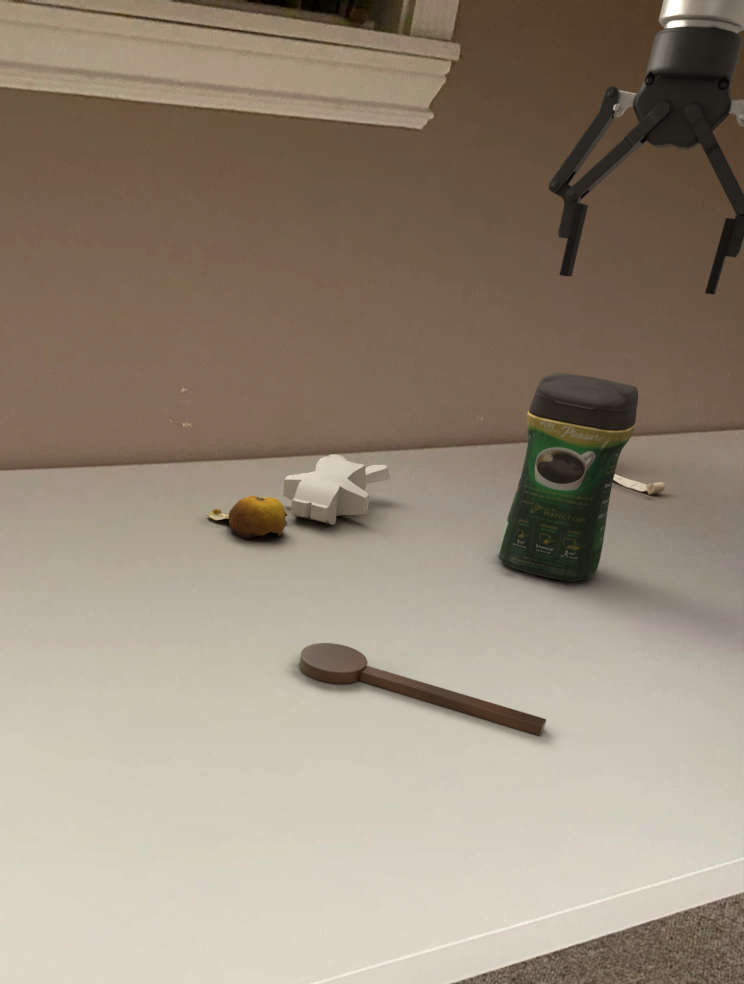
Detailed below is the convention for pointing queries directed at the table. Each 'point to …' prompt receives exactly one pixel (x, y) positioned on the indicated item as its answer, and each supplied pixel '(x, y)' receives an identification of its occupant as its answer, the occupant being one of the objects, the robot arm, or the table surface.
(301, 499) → the white toy figure
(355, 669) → the spoon
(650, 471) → the table surface
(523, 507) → the coffee jar
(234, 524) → the fruit
